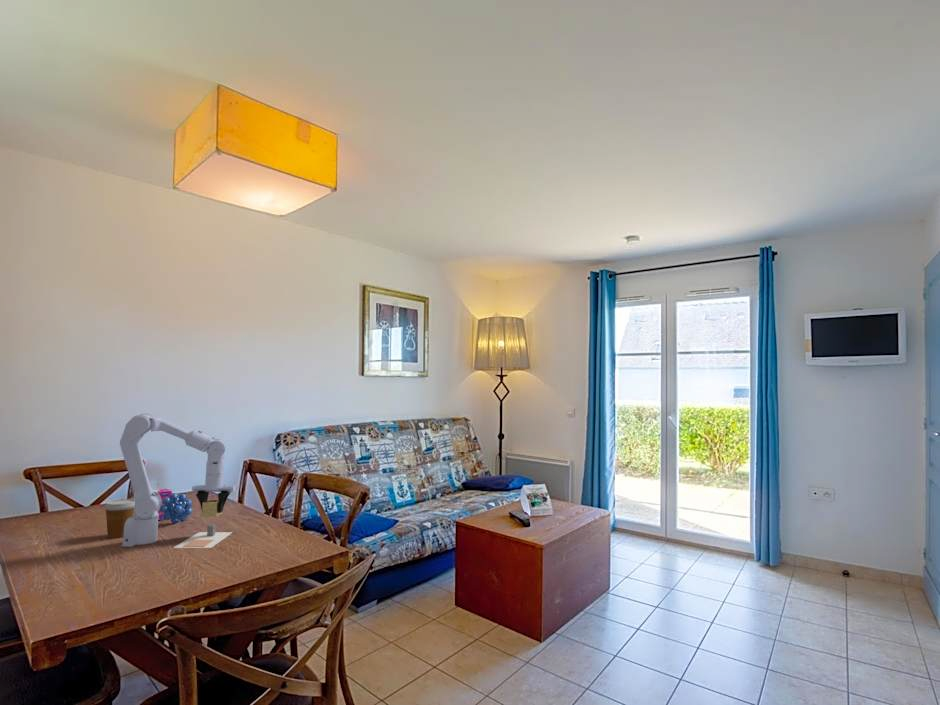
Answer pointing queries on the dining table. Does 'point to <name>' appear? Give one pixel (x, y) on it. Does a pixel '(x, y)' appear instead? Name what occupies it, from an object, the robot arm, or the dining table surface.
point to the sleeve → (210, 508)
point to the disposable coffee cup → (118, 516)
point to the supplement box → (162, 494)
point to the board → (204, 539)
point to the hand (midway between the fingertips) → (212, 512)
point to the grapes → (176, 508)
